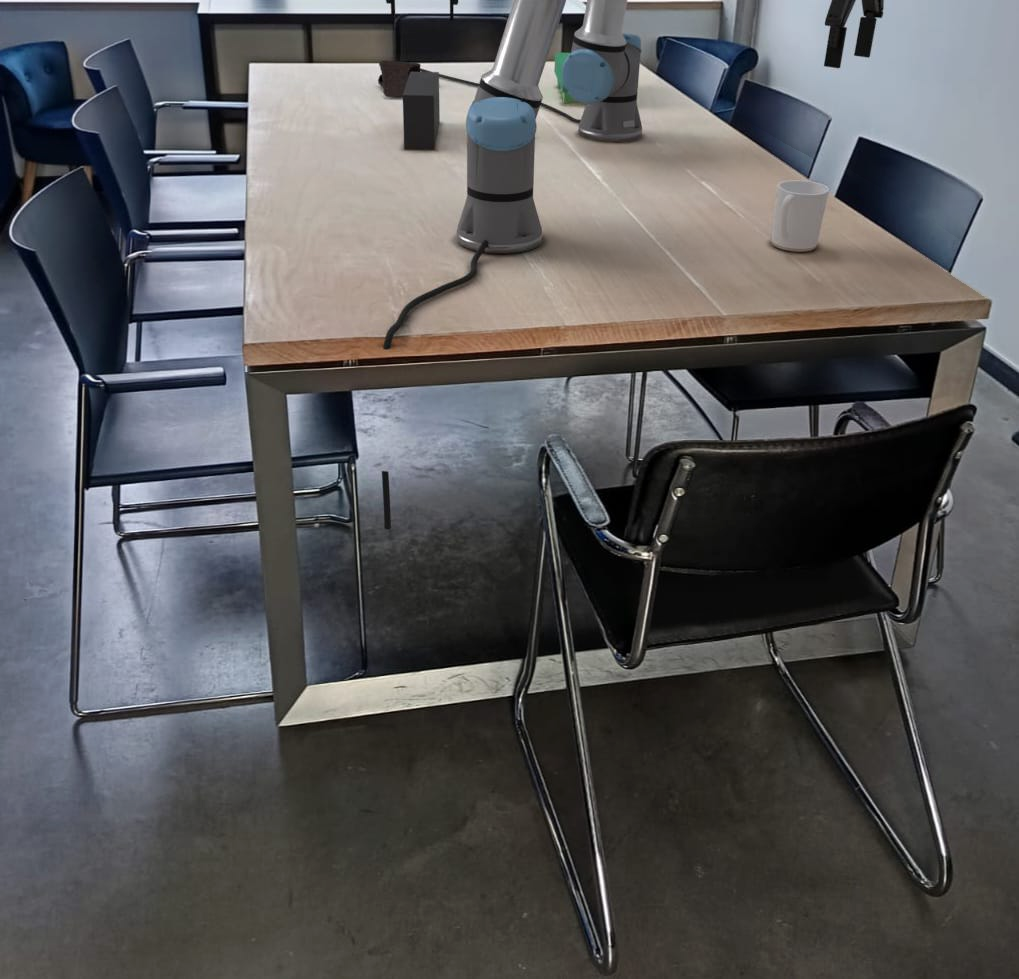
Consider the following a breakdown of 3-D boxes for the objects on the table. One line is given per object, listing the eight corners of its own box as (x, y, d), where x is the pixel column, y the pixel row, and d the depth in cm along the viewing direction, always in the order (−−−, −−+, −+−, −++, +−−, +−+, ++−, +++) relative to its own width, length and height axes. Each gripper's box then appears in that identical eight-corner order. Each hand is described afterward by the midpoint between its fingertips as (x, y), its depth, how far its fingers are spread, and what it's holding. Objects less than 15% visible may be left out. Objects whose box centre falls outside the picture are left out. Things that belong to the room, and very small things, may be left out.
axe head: (443, 87, 294) (392, 77, 287) (436, 115, 299) (385, 106, 292) (421, 62, 307) (371, 52, 300) (414, 89, 311) (365, 80, 304)
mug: (783, 233, 202) (791, 177, 197) (827, 243, 197) (837, 187, 192) (754, 247, 195) (762, 190, 189) (799, 259, 190) (809, 200, 185)
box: (434, 150, 248) (433, 95, 242) (404, 149, 248) (402, 94, 242) (439, 122, 270) (438, 72, 264) (411, 122, 270) (410, 71, 264)
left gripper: (876, -78, 194) (854, 49, 205) (818, -70, 177) (798, 68, 188) (918, -75, 190) (893, 54, 201) (863, -67, 173) (839, 74, 184)
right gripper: (476, -84, 247) (476, 18, 258) (366, -86, 247) (370, 15, 258) (476, -81, 241) (475, 23, 252) (362, -83, 240) (367, 21, 251)
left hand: (847, 61), depth 194 cm, fingers open, 13 cm apart
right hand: (422, 19), depth 255 cm, fingers open, 13 cm apart
